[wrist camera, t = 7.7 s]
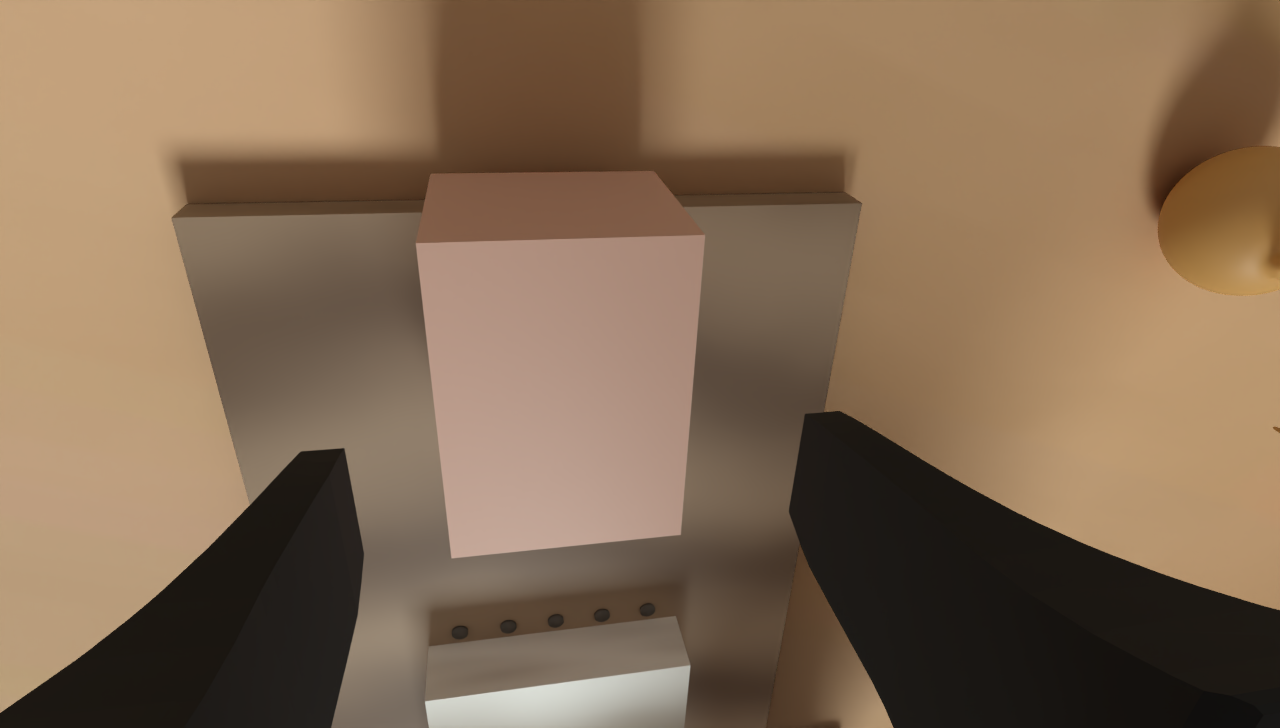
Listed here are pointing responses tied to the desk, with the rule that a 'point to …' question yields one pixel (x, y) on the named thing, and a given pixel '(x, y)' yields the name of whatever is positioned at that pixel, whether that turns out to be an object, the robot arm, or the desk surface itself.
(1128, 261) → the desk surface
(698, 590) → the ticket board
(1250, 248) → the figurine
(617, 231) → the tall pink cuboid
